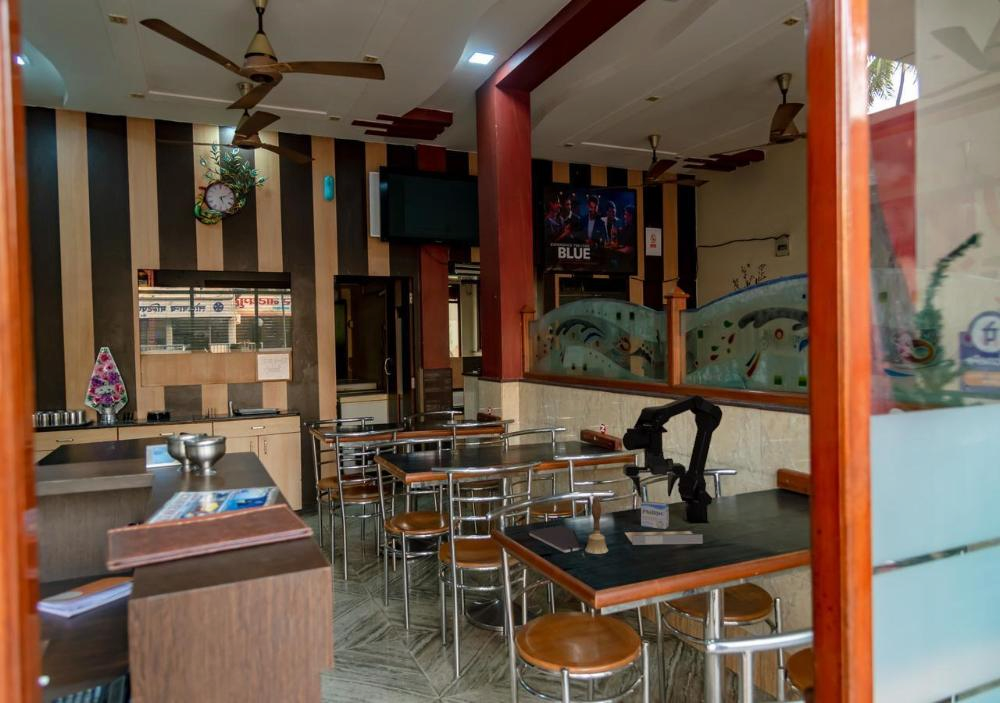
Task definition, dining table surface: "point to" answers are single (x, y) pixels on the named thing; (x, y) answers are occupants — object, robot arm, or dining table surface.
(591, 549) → the hand bell
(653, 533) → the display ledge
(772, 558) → the dining table surface
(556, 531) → the notebook
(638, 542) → the rail
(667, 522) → the medicine box
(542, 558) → the dining table surface
